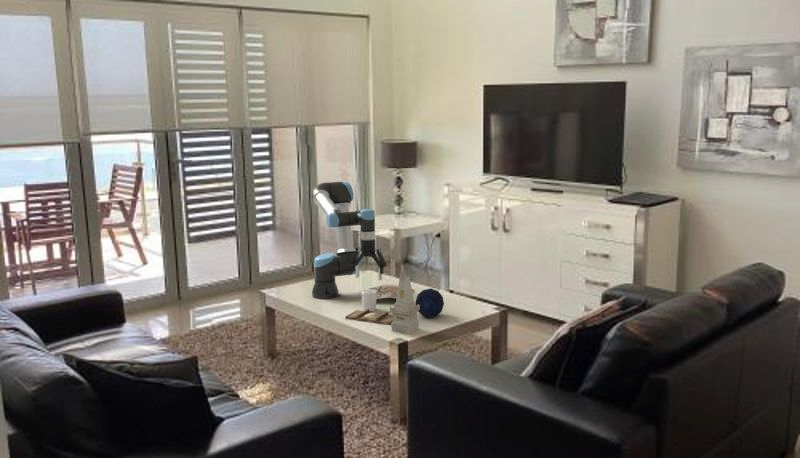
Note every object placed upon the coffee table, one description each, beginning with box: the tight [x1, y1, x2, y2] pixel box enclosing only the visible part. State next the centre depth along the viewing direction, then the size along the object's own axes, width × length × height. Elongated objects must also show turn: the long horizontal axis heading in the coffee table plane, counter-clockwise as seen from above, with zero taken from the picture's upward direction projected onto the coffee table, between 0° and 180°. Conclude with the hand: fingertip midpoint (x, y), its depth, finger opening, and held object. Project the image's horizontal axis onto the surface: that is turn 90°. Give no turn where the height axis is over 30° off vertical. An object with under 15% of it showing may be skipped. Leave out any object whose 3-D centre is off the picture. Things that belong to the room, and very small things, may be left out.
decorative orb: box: [415, 287, 445, 319], centre depth 355 cm, size 14×15×15 cm
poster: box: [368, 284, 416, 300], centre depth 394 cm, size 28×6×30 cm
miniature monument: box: [389, 269, 420, 335], centre depth 332 cm, size 10×10×30 cm
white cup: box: [361, 288, 377, 312], centre depth 368 cm, size 8×8×10 cm
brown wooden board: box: [345, 309, 393, 326], centre depth 354 cm, size 25×12×2 cm, turn 64°
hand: (368, 278), depth 366 cm, fingers open, 13 cm apart
